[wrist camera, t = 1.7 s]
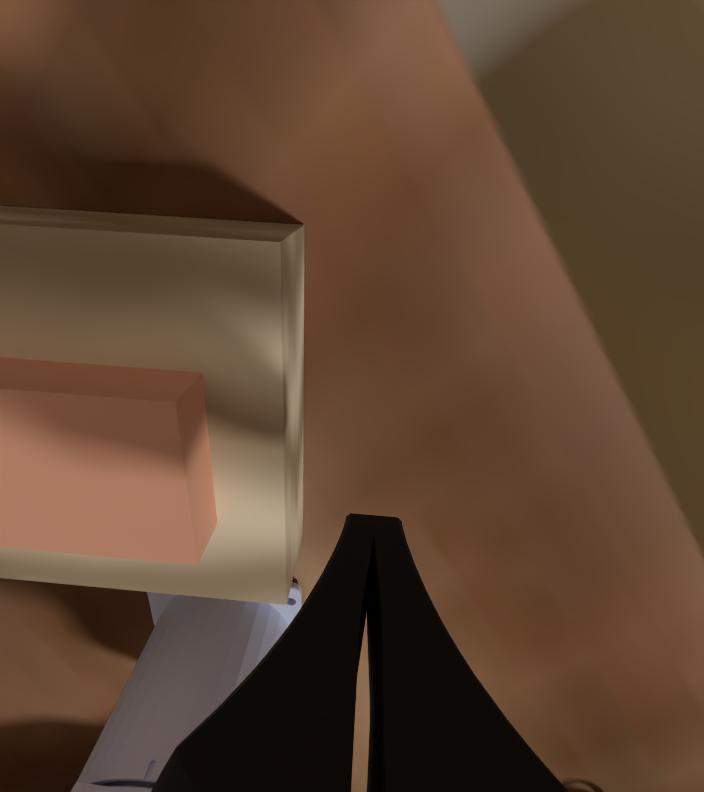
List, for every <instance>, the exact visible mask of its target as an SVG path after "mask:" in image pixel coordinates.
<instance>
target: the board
mask: <svg viewBox="0 0 704 792" xmlns="http://www.w3.org/2000/svg"><path fill="white" fill-rule="evenodd" d="M0 357H3V358H16V359H29V360H43V361H56V362H69V363H82V364H95V365H109V366H122V367H135V368H148V369H161V370H175V371H188V372H201V373H202V377H203V386H204V396H205V406H206V416H207V426H208V435H209V445H210V455H211V465H212V474H213V484H214V494H215V504H216V514H217V525H216V527H215V529H214V531H213V533H212V535H211V538H210V540H209V542H208V544H207V546H206V548H205V550H204V552H203V554H202V557H201V559H200V561H199V563H198V565H191V564H180V563H169V562H158V561H147V560H136V559H126V558H115V557H104V556H93V555H82V554H71V553H60V552H49V551H39V550H28V549H17V548H6V547H0V578H6V579H17V580H27V581H38V582H48V583H59V584H70V585H80V586H91V587H101V588H112V589H122V590H133V591H144V592H154V593H165V594H175V595H186V596H196V597H207V598H218V599H228V600H239V601H249V602H260V603H270V604H281V605H287V601H288V597H289V593H290V588H291V584H292V579H293V575H294V571H295V566H296V562H297V558H298V553H299V549H300V545H301V540H302V536H303V404H304V225H301V224H285V223H269V222H253V221H237V220H221V219H205V218H189V217H173V216H158V215H142V214H126V213H110V212H94V211H78V210H62V209H46V208H30V207H14V206H0Z"/></svg>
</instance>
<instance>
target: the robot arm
mask: <svg viewBox="0 0 704 792" xmlns="http://www.w3.org/2000/svg"><path fill="white" fill-rule="evenodd" d="M147 594H148V599H149V604H150V609H151V614H152V618H153V623H154V629H153V631H152V633H151V635H150V637H149V639H148V641H147V643H146V645H145V647H144V649H143V651H142V653H141V655H140V657H139V659H138V661H137V663H136V665H135V667H134V669H133V671H132V673H131V675H130V677H129V679H128V681H127V683H126V685H125V687H124V689H123V691H122V693H121V695H120V697H119V699H118V701H117V703H116V705H115V707H114V709H113V711H112V713H111V715H110V717H109V719H108V721H107V723H106V725H105V727H104V729H103V730H102V732H101V734H100V736H99V738H98V740H97V742H96V744H95V746H94V748H93V750H92V752H91V754H90V756H89V758H88V760H87V762H86V764H85V766H84V768H83V770H82V772H81V774H80V776H79V778H78V780H77V782H76V783H75V785H74V786H73V788H72V790H71V792H351V779H352V760H353V740H354V721H355V703H356V684H357V673H358V666H359V659H360V653H361V646H362V639H363V632H364V626H365V619H366V612H367V634H368V660H369V687H370V734H369V758H368V781H367V792H568V790H567V789H566V788H565V787H564V786H563V785H562V784H561V783H560V781H559V780H558V779H557V778H556V777H555V776H554V775H553V774H552V772H551V771H550V770H549V769H548V768H547V767H546V766H545V765H544V763H543V762H542V761H541V760H540V759H539V757H538V756H537V755H536V754H535V753H534V752H533V750H532V749H531V748H530V747H529V746H528V745H527V743H526V742H525V741H524V740H523V738H522V737H521V736H520V735H519V733H518V732H517V731H516V730H515V728H514V727H513V726H512V725H511V723H510V722H509V721H508V720H507V718H506V717H505V716H504V714H503V713H502V712H501V710H500V709H499V708H498V706H497V705H496V703H495V702H494V701H493V699H492V698H491V697H490V695H489V694H488V693H487V691H486V690H485V688H484V687H483V686H482V684H481V683H480V682H479V680H478V679H477V677H476V676H475V674H474V673H473V671H472V670H471V668H470V667H469V665H468V664H467V662H466V661H465V659H464V658H463V656H462V655H461V653H460V651H459V650H458V648H457V646H456V645H455V643H454V641H453V640H452V638H451V636H450V635H449V633H448V631H447V629H446V628H445V626H444V624H443V622H442V620H441V619H440V617H439V615H438V613H437V611H436V609H435V607H434V605H433V603H432V601H431V599H430V597H429V595H428V593H427V591H426V589H425V586H424V584H423V582H422V580H421V577H420V575H419V573H418V570H417V568H416V566H415V563H414V561H413V558H412V555H411V553H410V550H409V547H408V544H407V541H406V538H405V535H404V531H403V527H402V522H401V520H400V519H399V518H397V517H386V516H375V515H363V514H352V513H351V514H349V515H348V516H346V521H345V525H344V528H343V531H342V533H341V536H340V538H339V541H338V543H337V545H336V547H335V550H334V552H333V554H332V556H331V558H330V560H329V561H328V563H327V565H326V567H325V569H324V571H323V573H322V575H321V576H320V578H319V580H318V582H317V583H316V585H315V586H314V588H313V590H312V591H311V593H310V595H309V596H308V598H307V600H306V601H305V603H304V604H303V606H302V589H301V587H300V586H299V585H298V584H297V583H294V582H292V584H291V588H290V593H289V597H288V601H287V605H281V604H270V603H260V602H249V601H239V600H228V599H218V598H207V597H196V596H186V595H175V594H165V593H154V592H147ZM291 598H292V599H291Z"/></svg>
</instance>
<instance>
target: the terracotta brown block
mask: <svg viewBox="0 0 704 792" xmlns="http://www.w3.org/2000/svg"><path fill="white" fill-rule="evenodd" d="M216 525H217V514H216V504H215V494H214V484H213V474H212V465H211V455H210V445H209V435H208V426H207V416H206V406H205V396H204V386H203V377H202V373H201V372H188V371H175V370H161V369H148V368H135V367H122V366H109V365H95V364H82V363H69V362H56V361H43V360H29V359H16V358H3V357H0V547H6V548H17V549H28V550H39V551H49V552H60V553H71V554H82V555H93V556H104V557H115V558H126V559H136V560H147V561H158V562H169V563H180V564H191V565H198V563H199V561H200V559H201V557H202V554H203V552H204V550H205V548H206V546H207V544H208V542H209V540H210V538H211V535H212V533H213V531H214V529H215V527H216Z"/></svg>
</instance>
